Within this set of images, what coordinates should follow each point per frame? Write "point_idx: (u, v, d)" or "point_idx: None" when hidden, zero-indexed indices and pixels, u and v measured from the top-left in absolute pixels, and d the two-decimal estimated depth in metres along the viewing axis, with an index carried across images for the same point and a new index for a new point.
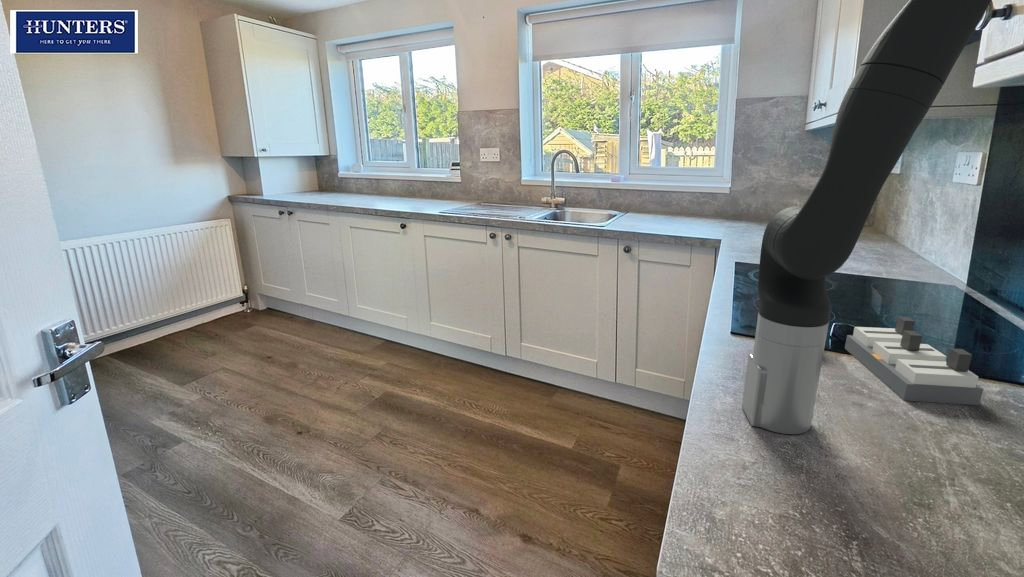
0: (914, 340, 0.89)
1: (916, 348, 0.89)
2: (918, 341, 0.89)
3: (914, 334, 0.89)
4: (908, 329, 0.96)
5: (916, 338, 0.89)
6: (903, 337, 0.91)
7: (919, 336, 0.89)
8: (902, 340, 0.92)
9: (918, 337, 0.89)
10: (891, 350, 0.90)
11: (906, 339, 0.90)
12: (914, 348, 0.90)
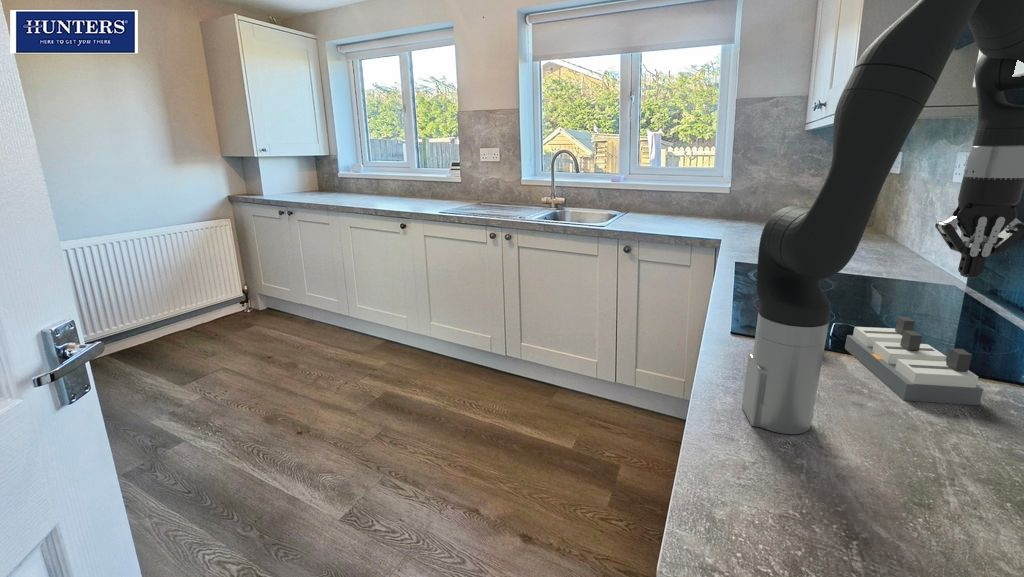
0: (914, 340, 0.89)
1: (916, 348, 0.89)
2: (918, 341, 0.89)
3: (914, 334, 0.89)
4: (908, 329, 0.96)
5: (916, 338, 0.89)
6: (903, 337, 0.91)
7: (919, 336, 0.89)
8: (902, 340, 0.92)
9: (918, 337, 0.89)
10: (891, 350, 0.90)
11: (906, 339, 0.90)
12: (914, 348, 0.90)
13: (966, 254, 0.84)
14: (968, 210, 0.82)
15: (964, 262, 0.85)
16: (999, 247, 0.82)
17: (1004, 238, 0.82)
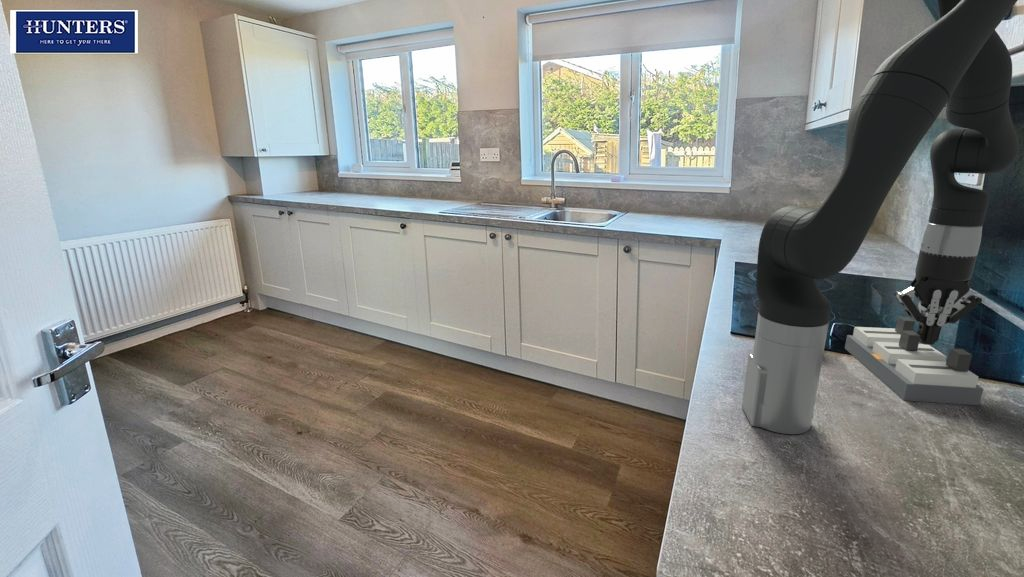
0: (912, 340, 0.89)
1: (914, 348, 0.90)
2: (916, 341, 0.89)
3: (912, 334, 0.89)
4: (908, 329, 0.96)
5: (915, 338, 0.89)
6: (901, 337, 0.91)
7: (917, 336, 0.89)
8: (900, 340, 0.92)
9: (916, 337, 0.89)
10: (891, 350, 0.90)
11: (904, 339, 0.90)
12: (912, 348, 0.90)
13: (923, 323, 0.88)
14: (924, 283, 0.86)
15: (921, 330, 0.89)
16: (953, 318, 0.87)
17: (958, 309, 0.87)
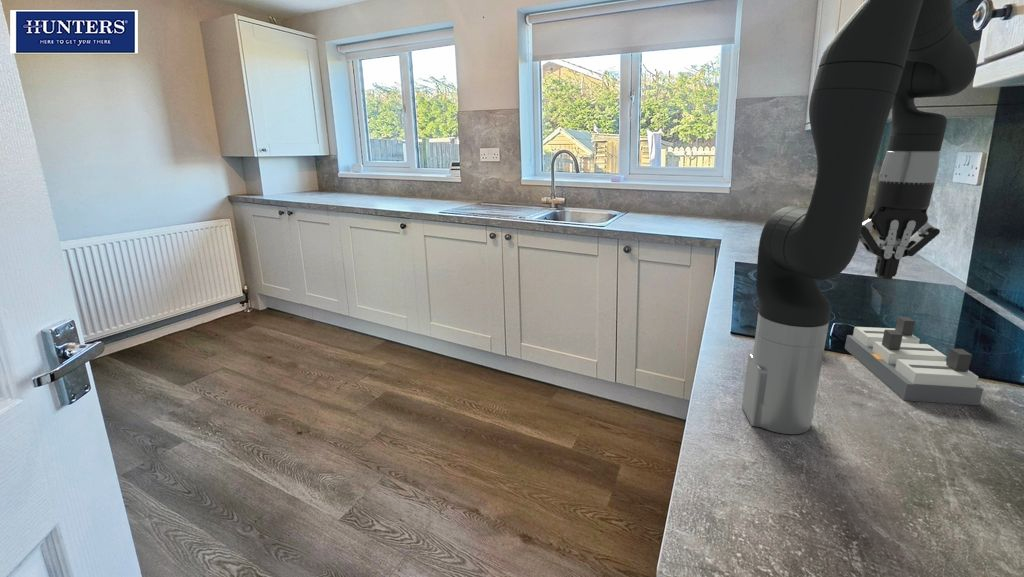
0: (895, 339, 0.90)
1: (897, 347, 0.90)
2: (899, 340, 0.90)
3: (895, 333, 0.90)
4: (908, 329, 0.96)
5: (897, 337, 0.90)
6: (884, 336, 0.92)
7: (900, 335, 0.89)
8: (883, 339, 0.92)
9: (899, 336, 0.89)
10: (891, 350, 0.90)
11: (887, 338, 0.91)
12: (895, 347, 0.90)
13: (881, 256, 0.87)
14: (881, 213, 0.84)
15: (879, 264, 0.87)
16: (911, 250, 0.85)
17: (916, 241, 0.85)
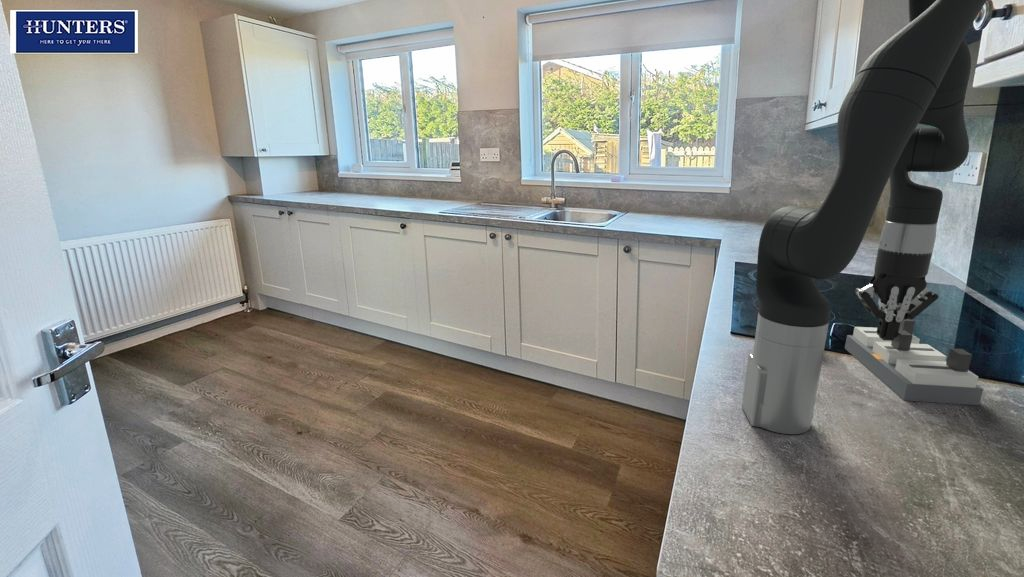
0: (905, 340, 0.89)
1: (907, 348, 0.90)
2: (909, 341, 0.89)
3: (905, 334, 0.90)
4: (908, 329, 0.96)
5: (907, 338, 0.89)
6: None
7: (909, 336, 0.89)
8: (893, 340, 0.92)
9: (909, 337, 0.89)
10: (891, 350, 0.90)
11: (897, 339, 0.91)
12: (905, 348, 0.90)
13: (882, 319, 0.90)
14: (882, 280, 0.88)
15: (881, 326, 0.90)
16: (911, 314, 0.88)
17: (916, 305, 0.88)
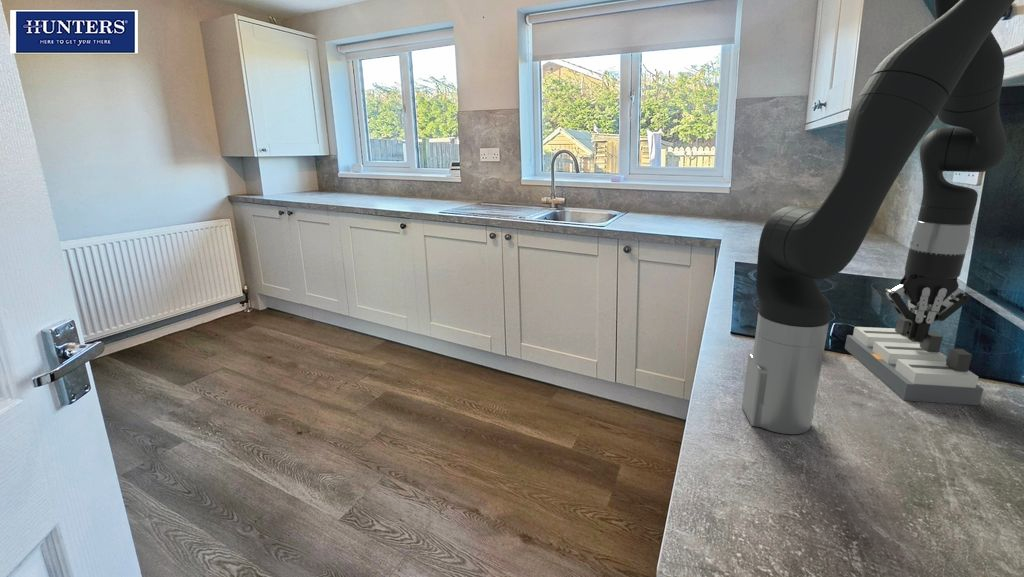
0: (934, 341, 0.89)
1: (936, 349, 0.89)
2: (938, 342, 0.89)
3: (934, 335, 0.89)
4: None
5: (937, 339, 0.88)
6: None
7: (939, 337, 0.88)
8: None
9: (939, 338, 0.88)
10: (891, 350, 0.90)
11: (926, 340, 0.90)
12: (934, 349, 0.89)
13: (912, 320, 0.89)
14: (913, 280, 0.87)
15: (910, 327, 0.90)
16: (942, 315, 0.87)
17: (947, 307, 0.87)
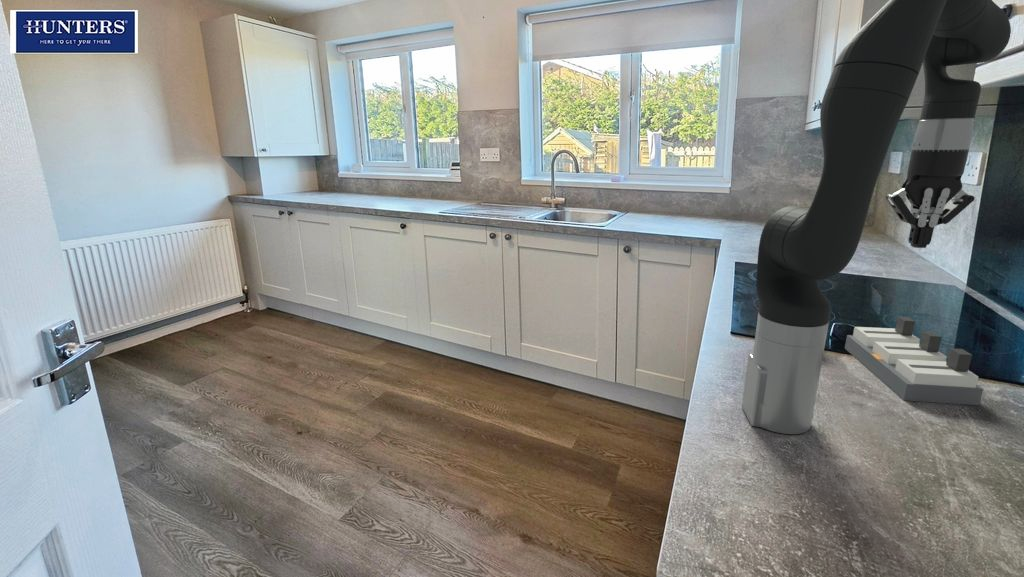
0: (934, 341, 0.89)
1: (935, 349, 0.89)
2: (938, 342, 0.89)
3: (933, 335, 0.89)
4: (908, 329, 0.96)
5: (936, 339, 0.88)
6: (922, 338, 0.91)
7: (939, 337, 0.88)
8: (921, 341, 0.91)
9: (938, 338, 0.88)
10: (891, 350, 0.90)
11: (925, 340, 0.90)
12: (933, 349, 0.89)
13: (915, 225, 0.88)
14: (915, 182, 0.85)
15: (913, 233, 0.88)
16: (946, 218, 0.86)
17: (950, 209, 0.86)
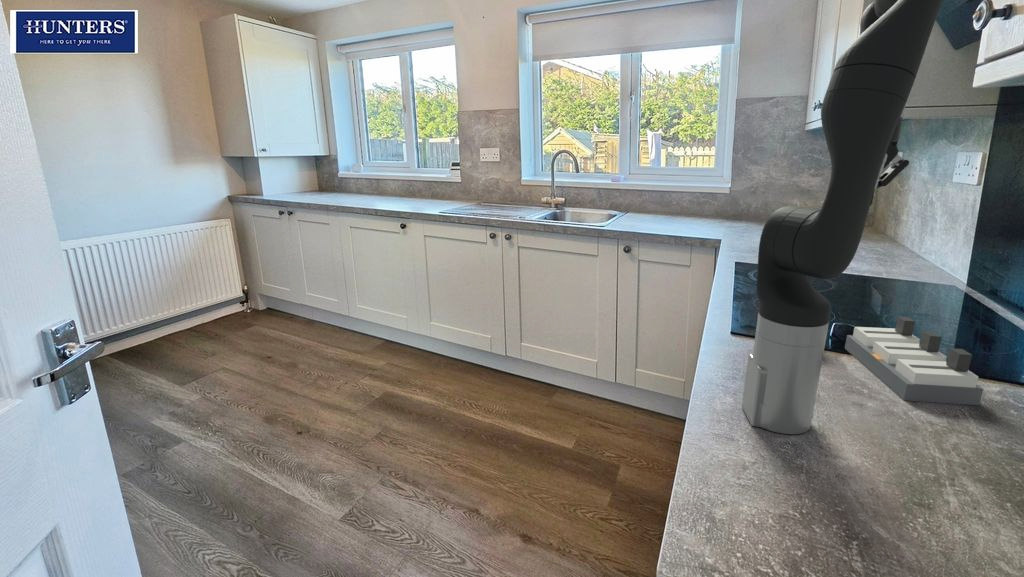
0: (934, 341, 0.89)
1: (935, 349, 0.89)
2: (938, 342, 0.89)
3: (933, 335, 0.89)
4: (908, 329, 0.96)
5: (936, 339, 0.88)
6: (922, 338, 0.91)
7: (939, 337, 0.88)
8: (921, 341, 0.91)
9: (938, 338, 0.88)
10: (891, 350, 0.90)
11: (925, 340, 0.90)
12: (933, 349, 0.89)
13: None
14: None
15: None
16: (884, 181, 0.95)
17: (889, 173, 0.95)
